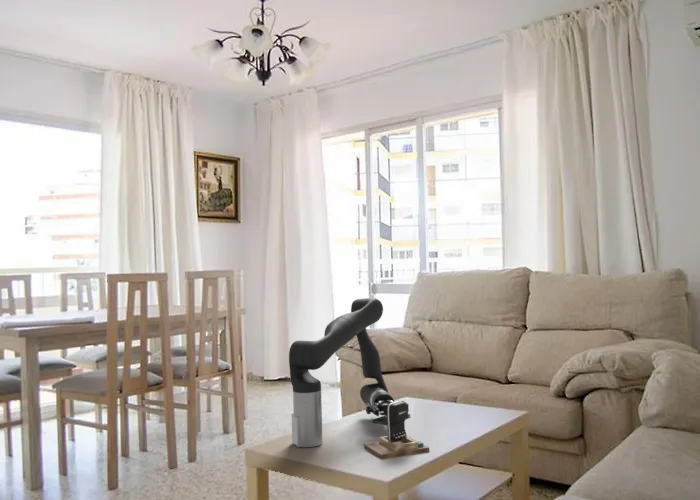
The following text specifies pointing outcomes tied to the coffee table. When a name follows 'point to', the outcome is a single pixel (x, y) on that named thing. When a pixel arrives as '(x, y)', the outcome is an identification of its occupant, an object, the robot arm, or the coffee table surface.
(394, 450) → the board
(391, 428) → the battery charger
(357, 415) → the coffee table surface
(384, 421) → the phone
